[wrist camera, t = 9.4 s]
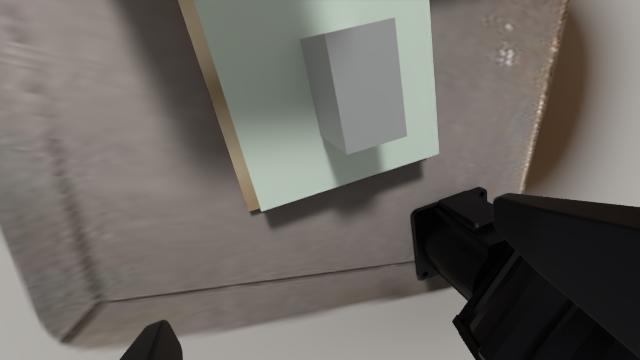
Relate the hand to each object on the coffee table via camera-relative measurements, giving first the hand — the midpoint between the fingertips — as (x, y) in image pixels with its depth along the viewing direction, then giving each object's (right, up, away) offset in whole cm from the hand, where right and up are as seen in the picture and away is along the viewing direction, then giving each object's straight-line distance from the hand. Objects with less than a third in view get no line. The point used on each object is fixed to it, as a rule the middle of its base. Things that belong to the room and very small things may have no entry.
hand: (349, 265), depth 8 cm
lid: (0, +8, +11) cm, 13 cm away
